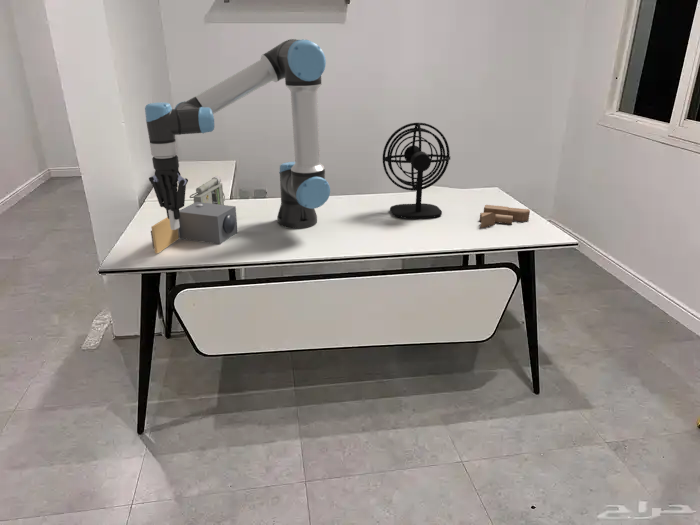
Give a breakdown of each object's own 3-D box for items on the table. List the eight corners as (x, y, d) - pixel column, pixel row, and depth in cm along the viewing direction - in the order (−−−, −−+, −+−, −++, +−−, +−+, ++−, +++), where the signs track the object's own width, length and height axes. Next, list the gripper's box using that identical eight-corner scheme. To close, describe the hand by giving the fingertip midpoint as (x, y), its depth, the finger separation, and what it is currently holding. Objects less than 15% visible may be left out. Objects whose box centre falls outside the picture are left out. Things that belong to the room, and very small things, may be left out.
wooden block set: (483, 201, 216) (530, 206, 211) (481, 215, 218) (528, 220, 213) (478, 214, 201) (529, 219, 196) (477, 228, 203) (527, 234, 198)
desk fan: (442, 204, 229) (448, 119, 215) (454, 218, 213) (462, 127, 199) (378, 207, 226) (381, 120, 212) (386, 220, 210) (389, 128, 196)
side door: (158, 253, 177) (154, 226, 173) (153, 253, 177) (149, 226, 173) (180, 237, 190) (177, 212, 187) (176, 237, 191) (173, 212, 187)
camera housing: (240, 233, 196) (237, 205, 192) (222, 244, 186) (219, 215, 182) (199, 227, 201) (196, 200, 197) (180, 238, 191) (176, 209, 187)
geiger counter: (202, 188, 199) (229, 172, 222) (186, 187, 200) (214, 171, 223) (205, 224, 205) (232, 205, 227) (190, 223, 206) (217, 204, 228)
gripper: (190, 154, 167) (199, 226, 177) (154, 151, 171) (165, 222, 181) (175, 159, 161) (185, 234, 170) (139, 156, 165) (151, 230, 174)
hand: (175, 228), depth 176 cm, fingers closed
